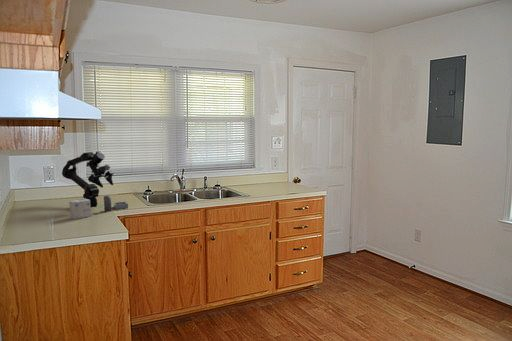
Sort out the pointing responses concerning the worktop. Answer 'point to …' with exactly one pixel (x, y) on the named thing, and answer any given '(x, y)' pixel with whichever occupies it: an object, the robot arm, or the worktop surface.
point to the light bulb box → (80, 208)
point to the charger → (107, 203)
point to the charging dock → (120, 205)
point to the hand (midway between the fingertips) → (107, 186)
